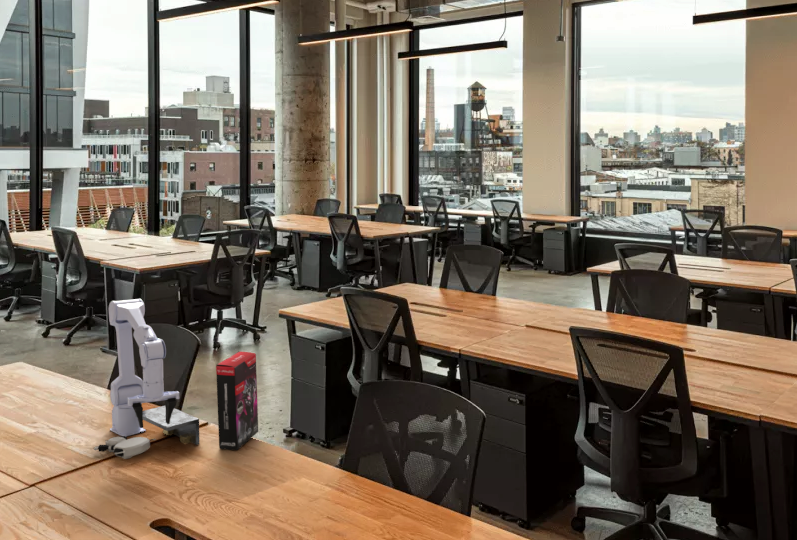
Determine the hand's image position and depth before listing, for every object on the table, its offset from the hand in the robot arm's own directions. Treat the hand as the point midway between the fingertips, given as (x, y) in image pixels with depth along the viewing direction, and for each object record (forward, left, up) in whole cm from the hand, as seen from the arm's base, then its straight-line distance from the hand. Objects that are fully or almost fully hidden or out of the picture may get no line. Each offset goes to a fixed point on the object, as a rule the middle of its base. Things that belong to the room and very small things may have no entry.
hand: (154, 424), depth 223 cm
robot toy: (-9, -5, -10) cm, 15 cm away
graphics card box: (+7, +25, -10) cm, 28 cm away
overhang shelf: (-9, +9, -10) cm, 16 cm away
